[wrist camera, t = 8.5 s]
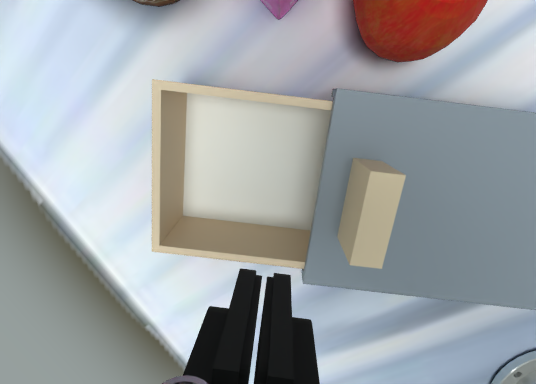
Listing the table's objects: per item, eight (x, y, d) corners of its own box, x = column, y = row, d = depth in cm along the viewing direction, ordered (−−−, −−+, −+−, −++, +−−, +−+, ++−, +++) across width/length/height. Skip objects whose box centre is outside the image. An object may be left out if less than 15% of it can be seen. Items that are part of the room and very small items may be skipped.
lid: (523, 298, 26) (588, 350, 20) (301, 272, 25) (308, 319, 20) (599, 121, 21) (707, 129, 16) (332, 89, 21) (352, 86, 16)
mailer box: (353, 238, 31) (374, 276, 25) (178, 218, 31) (151, 251, 24) (382, 108, 27) (416, 111, 21) (182, 83, 27) (152, 79, 20)
